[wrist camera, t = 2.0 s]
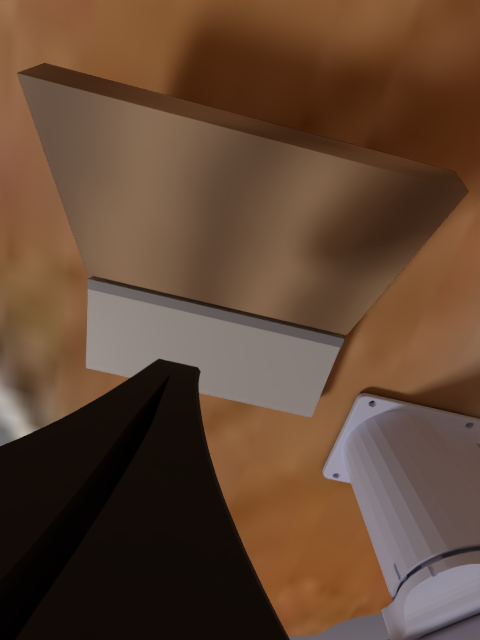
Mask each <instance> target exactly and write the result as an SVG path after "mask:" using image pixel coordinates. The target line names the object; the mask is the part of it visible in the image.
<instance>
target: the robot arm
mask: <svg viewBox="0 0 480 640" xmlns="http://www.w3.org/2000/svg"><path fill="white" fill-rule="evenodd" d="M200 373H201V371H200V370H199V368H198V367H194V366H190V365H186V364H181V363H177V362H172V361H168V360H163V359H158V360H156V361H154V362H153V363H151V364H150V365H148V366H147V367H145V368H144V369H143V370H141V371H140V372H138V373H137V374H135V375H134V376H132V377H131V378H129V379H128V380H126V381H125V382H123V383H122V384H120V385H119V386H117V387H115V388H114V389H112V390H111V391H109V392H108V393H106V394H104V395H103V396H101V397H99V398H98V399H96V400H94V401H92V402H91V403H89V404H87V405H85V406H84V407H82V408H80V409H78V410H77V411H75V412H73V413H71V414H69V415H67V416H65V417H63V418H62V419H60V420H58V421H56V422H54V423H52V424H49V425H47V426H45V427H43V428H41V429H39V430H37V431H35V432H33V433H30V434H28V435H26V436H24V437H22V438H19V439H17V440H14V441H12V442H10V443H7V444H5V445H2V446H0V640H290V639H289V637H288V635H287V633H286V632H285V630H284V628H283V626H282V624H281V622H280V620H279V618H278V616H277V614H276V612H275V610H274V608H273V606H272V604H271V602H270V600H269V598H268V596H267V594H266V593H265V591H264V589H263V587H262V584H261V582H260V580H259V578H258V576H257V574H256V572H255V570H254V567H253V565H252V563H251V561H250V559H249V557H248V555H247V552H246V550H245V548H244V546H243V543H242V541H241V539H240V536H239V534H238V531H237V529H236V526H235V524H234V522H233V519H232V517H231V514H230V512H229V509H228V507H227V505H226V502H225V499H224V497H223V494H222V491H221V488H220V485H219V482H218V479H217V477H216V473H215V470H214V467H213V464H212V460H211V457H210V453H209V449H208V445H207V441H206V437H205V432H204V428H203V422H202V416H201V409H200V401H199V377H200ZM370 401H374V402H373V403H369V402H370ZM467 423H468V424H467ZM335 473H336V474H335ZM323 475H324V476H325V477H326V478H329V479H333V480H338V481H343V482H348V483H351V485H352V487H353V490H354V493H355V496H356V499H357V502H358V505H359V507H360V510H361V513H362V516H363V519H364V522H365V524H366V527H367V530H368V533H369V536H370V539H371V542H372V544H373V547H374V550H375V553H376V556H377V559H378V561H379V564H380V567H381V570H382V573H383V576H384V578H385V581H386V584H387V587H388V590H389V593H390V596H391V598H392V601H393V602H392V603H391V604H389V605H388V606H386V607H384V608H383V609H382V610H381V611H382V614H383V617H384V620H385V624H386V627H387V630H388V633H389V636H390V639H388V640H480V419H479V418H474V417H470V416H465V415H461V414H457V413H452V412H448V411H443V410H439V409H434V408H430V407H426V406H421V405H417V404H412V403H408V402H404V401H399V400H395V399H390V398H386V397H381V396H377V395H373V394H368V393H362V394H360V395H358V397H357V398H356V400H355V402H354V405H353V407H352V409H351V411H350V413H349V415H348V417H347V419H346V421H345V423H344V426H343V428H342V430H341V432H340V434H339V436H338V438H337V440H336V442H335V445H334V447H333V449H332V451H331V453H330V455H329V457H328V459H327V461H326V463H325V466H324V468H323Z"/></svg>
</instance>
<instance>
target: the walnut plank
mask: <svg viewBox="0 0 480 640" xmlns="http://www.w3.org/2000/svg"><path fill="white" fill-rule="evenodd" d="M17 75H18V78H19V81H20V84H21V87H22V90H23V92H24V95H25V98H26V101H27V104H28V107H29V110H30V112H31V115H32V118H33V121H34V124H35V127H36V130H37V133H38V135H39V138H40V141H41V144H42V147H43V150H44V153H45V155H46V158H47V161H48V164H49V167H50V170H51V173H52V175H53V178H54V181H55V184H56V187H57V190H58V193H59V195H60V198H61V201H62V204H63V207H64V210H65V213H66V215H67V218H68V221H69V224H70V227H71V230H72V233H73V235H74V238H75V241H76V244H77V247H78V250H79V253H80V256H81V258H82V261H83V264H84V267H85V270H86V273H87V275H91V276H96V277H100V278H104V279H108V280H113V281H117V282H121V283H125V284H130V285H134V286H138V287H143V288H147V289H151V290H155V291H160V292H164V293H168V294H172V295H177V296H181V297H185V298H189V299H194V300H198V301H202V302H207V303H211V304H215V305H219V306H224V307H228V308H232V309H236V310H241V311H245V312H249V313H253V314H258V315H262V316H266V317H270V318H275V319H279V320H283V321H288V322H292V323H296V324H300V325H305V326H309V327H313V328H317V329H322V330H326V331H330V332H334V333H339V334H343V335H347V334H348V333H349V332H350V331H351V330H352V328H353V327H354V326H355V325H356V324H357V323H358V321H359V320H360V319H361V318H362V317H363V316H364V314H365V313H366V312H367V311H368V310H369V308H370V307H371V306H372V305H373V304H374V303H375V301H376V300H377V299H378V298H379V297H380V295H381V294H382V293H383V292H384V291H385V290H386V288H387V287H388V286H389V285H390V284H391V283H392V281H393V280H394V279H395V278H396V277H397V275H398V274H399V273H400V272H401V271H402V270H403V268H404V267H405V266H406V265H407V264H408V263H409V261H410V260H411V259H412V258H413V257H414V255H415V254H416V253H417V252H418V251H419V250H420V248H421V247H422V246H423V245H424V244H425V243H426V241H427V240H428V239H429V238H430V237H431V235H432V234H433V233H434V232H435V231H436V230H437V228H438V227H439V226H440V225H441V224H442V222H443V221H444V220H445V219H446V218H447V217H448V215H449V214H450V213H451V212H452V211H453V210H454V208H455V207H456V206H457V205H458V204H459V202H460V201H461V200H462V199H463V198H464V197H465V195H466V194H467V193H468V192H469V191H468V190H467V188H466V187H465V185H464V184H463V182H462V181H461V180H460V178H459V177H458V175H457V174H456V173H455V171H451V170H447V169H444V168H440V167H436V166H432V165H428V164H425V163H421V162H417V161H413V160H410V159H406V158H402V157H398V156H394V155H391V154H387V153H383V152H379V151H376V150H372V149H368V148H364V147H360V146H357V145H353V144H349V143H345V142H342V141H338V140H334V139H330V138H326V137H323V136H319V135H315V134H311V133H308V132H304V131H300V130H296V129H292V128H289V127H285V126H281V125H277V124H274V123H270V122H266V121H262V120H258V119H255V118H251V117H247V116H243V115H239V114H236V113H232V112H228V111H224V110H221V109H217V108H213V107H209V106H205V105H202V104H198V103H194V102H190V101H187V100H183V99H179V98H175V97H171V96H168V95H164V94H160V93H156V92H153V91H149V90H145V89H141V88H137V87H134V86H130V85H126V84H122V83H119V82H115V81H111V80H107V79H103V78H100V77H96V76H92V75H88V74H84V73H81V72H77V71H73V70H69V69H66V68H62V67H58V66H54V65H50V64H47V63H43V64H40V65H38V66H35V67H32V68H29V69H26V70H24V71H21V72H18V73H17Z"/></svg>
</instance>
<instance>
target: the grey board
mask: <svg viewBox="0 0 480 640" xmlns="http://www.w3.org/2000/svg"><path fill="white" fill-rule="evenodd" d="M87 289H88V313H87V349H86V368H89V369H93V370H98V371H102V372H107V373H111V374H116V375H120V376H125V377H130V378H131V377H132V376H134V375H135V374H137V373H138V372H140V371H141V370H143V369H144V368H145V367H147V366H148V365H150V364H151V363H153V362H154V361H156V360H158V359H163V360H168V361H172V362H177V363H181V364H186V365H190V366H194V367H198V368H199V370H200V371H201V373H200V377H199V393H202V394H207V395H211V396H216V397H220V398H225V399H229V400H234V401H238V402H243V403H248V404H252V405H257V406H261V407H266V408H270V409H275V410H279V411H284V412H288V413H293V414H297V415H302V416H307V417H312V415H313V412H314V410H315V408H316V405H317V403H318V400H319V398H320V396H321V393H322V391H323V388H324V386H325V383H326V381H327V379H328V376H329V374H330V371H331V369H332V367H333V364H334V362H335V359H336V357H337V354H338V352H339V350H340V348H341V347H342V344H343V342H344V340H345V339H344V337H343V336H342V334H339V333H334V332H330V331H326V330H322V329H317V328H313V327H309V326H305V325H300V324H296V323H292V322H288V321H283V320H279V319H275V318H270V317H266V316H262V315H258V314H253V313H249V312H245V311H241V310H236V309H232V308H228V307H224V306H219V305H215V304H211V303H207V302H202V301H198V300H194V299H189V298H185V297H181V296H177V295H172V294H168V293H164V292H160V291H155V290H151V289H147V288H143V287H138V286H134V285H130V284H125V283H121V282H117V281H113V280H108V279H104V278H100V277H96V276H93V277H91V278H88V279H87Z"/></svg>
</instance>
